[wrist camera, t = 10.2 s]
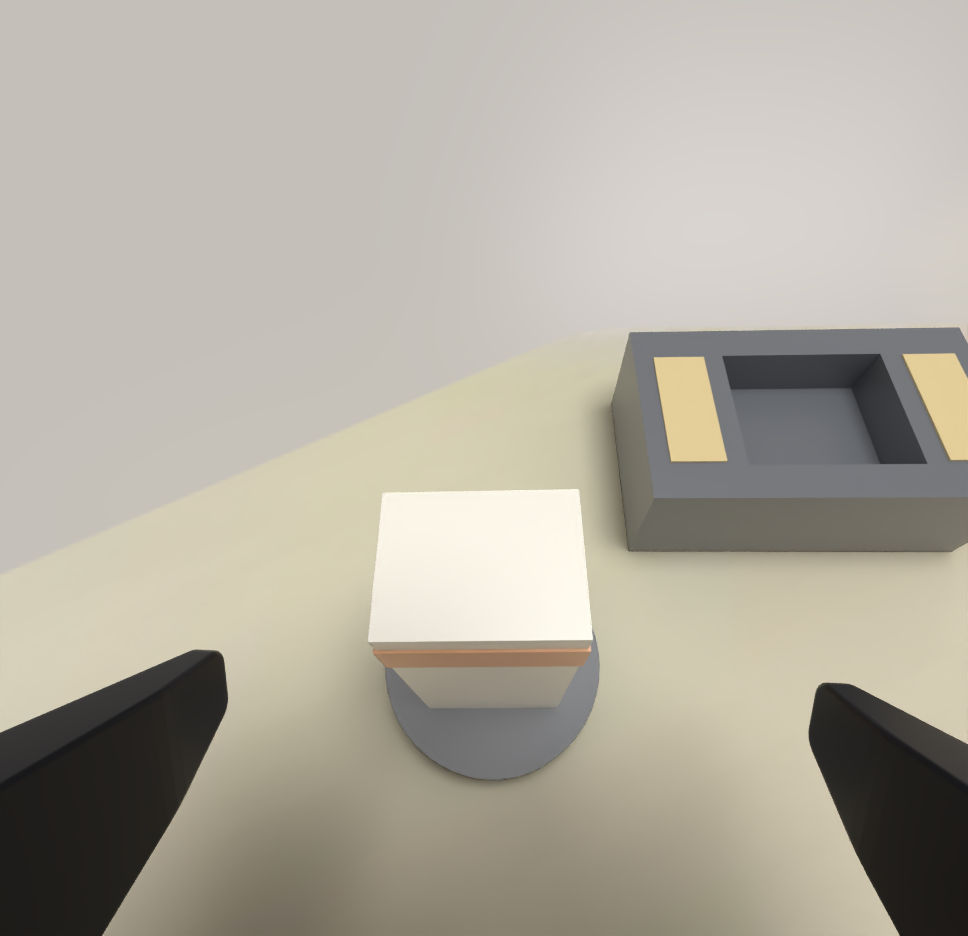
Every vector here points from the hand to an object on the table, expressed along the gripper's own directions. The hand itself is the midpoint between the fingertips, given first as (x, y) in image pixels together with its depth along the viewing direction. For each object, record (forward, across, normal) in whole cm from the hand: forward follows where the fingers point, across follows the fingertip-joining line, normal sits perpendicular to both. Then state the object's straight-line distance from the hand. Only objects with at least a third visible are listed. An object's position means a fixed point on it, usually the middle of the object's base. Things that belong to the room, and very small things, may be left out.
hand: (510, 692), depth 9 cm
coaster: (+10, +1, +6) cm, 12 cm away
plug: (+9, +1, +5) cm, 10 cm away
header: (+16, -10, 0) cm, 19 cm away
